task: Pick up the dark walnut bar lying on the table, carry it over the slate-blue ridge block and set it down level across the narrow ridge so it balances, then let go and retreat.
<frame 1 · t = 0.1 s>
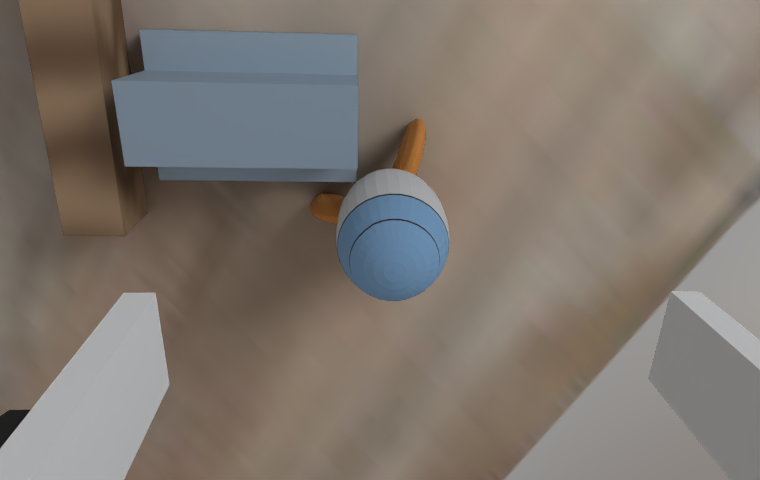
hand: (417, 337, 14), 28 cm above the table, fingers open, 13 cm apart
toy rocket: (397, 174, 42), on the table, touching slate ridge
walnut bar: (97, 43, 37), on the table
slate ridge: (257, 107, 39), on the table
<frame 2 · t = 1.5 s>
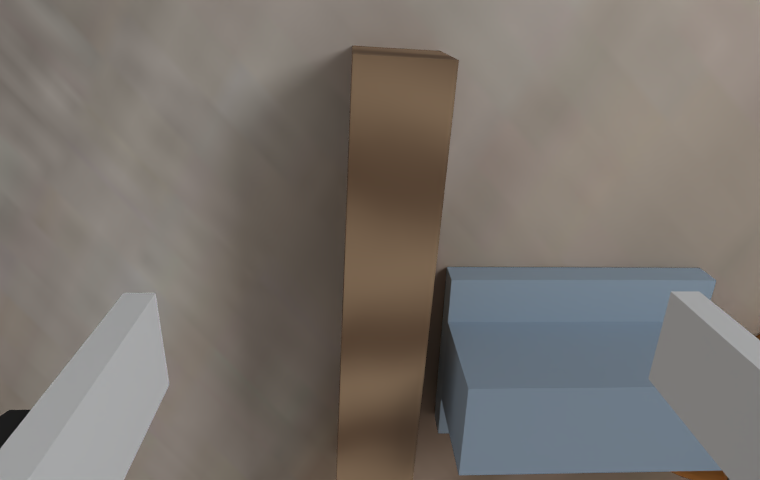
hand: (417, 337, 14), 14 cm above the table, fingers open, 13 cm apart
toy rocket: (728, 386, 34), on the table, touching slate ridge
walnut bar: (380, 280, 30), on the table
slate ridge: (560, 345, 32), on the table
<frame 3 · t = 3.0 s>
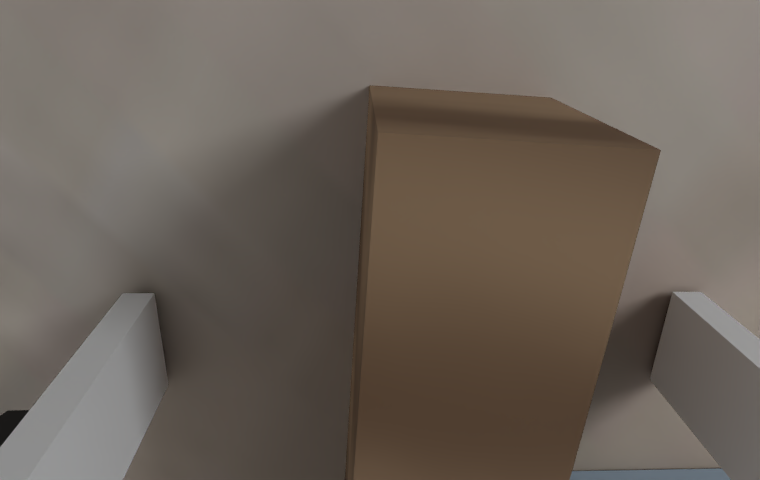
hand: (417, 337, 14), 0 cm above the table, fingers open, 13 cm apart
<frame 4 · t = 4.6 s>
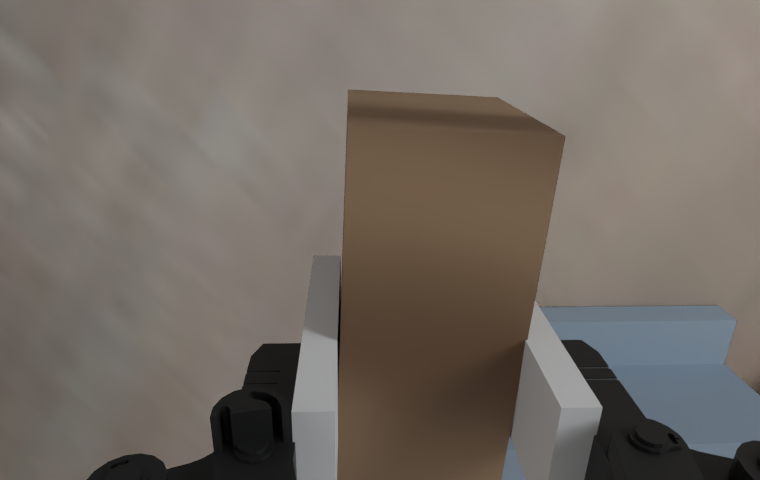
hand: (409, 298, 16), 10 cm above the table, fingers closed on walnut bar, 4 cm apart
walnut bar: (393, 446, 19), point 9 cm above the table, touching gripper
slate ridge: (569, 389, 29), on the table
when the fingers open (9 cm above the table, at t = 7.6 s): walnut bar drops 1 cm, resting on slate ridge.
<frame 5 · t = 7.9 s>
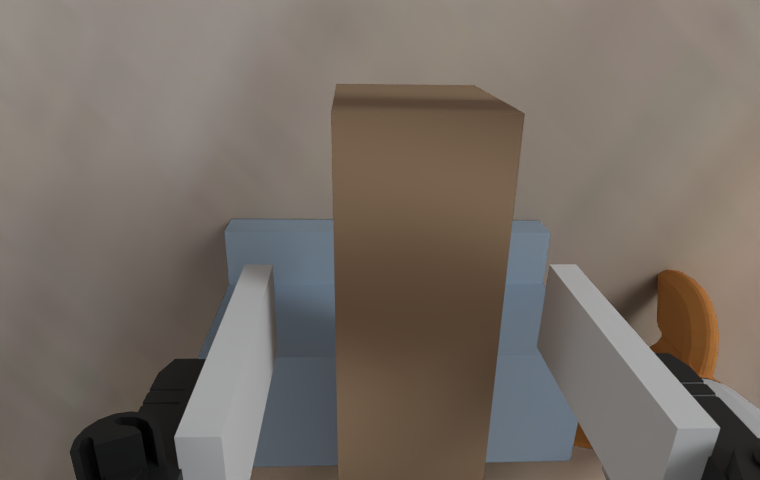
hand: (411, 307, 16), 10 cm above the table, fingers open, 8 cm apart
toy rocket: (627, 339, 29), on the table, touching slate ridge
walnut bar: (395, 417, 20), point 7 cm above the table, touching slate ridge
slate ridge: (384, 315, 27), on the table
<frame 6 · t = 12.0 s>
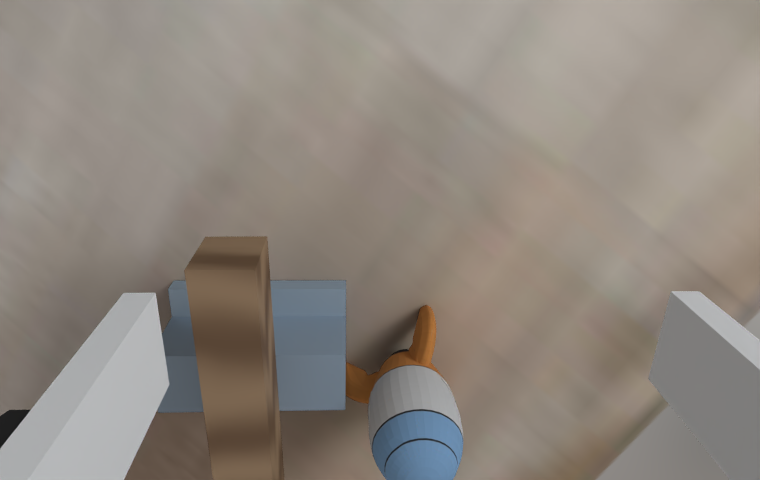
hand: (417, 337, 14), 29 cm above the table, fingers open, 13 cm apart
toy rocket: (410, 344, 49), on the table, touching slate ridge
walnut bar: (250, 386, 41), point 7 cm above the table, touching slate ridge
slate ridge: (264, 332, 47), on the table
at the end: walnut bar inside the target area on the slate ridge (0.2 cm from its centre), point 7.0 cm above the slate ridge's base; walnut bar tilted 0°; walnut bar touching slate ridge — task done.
